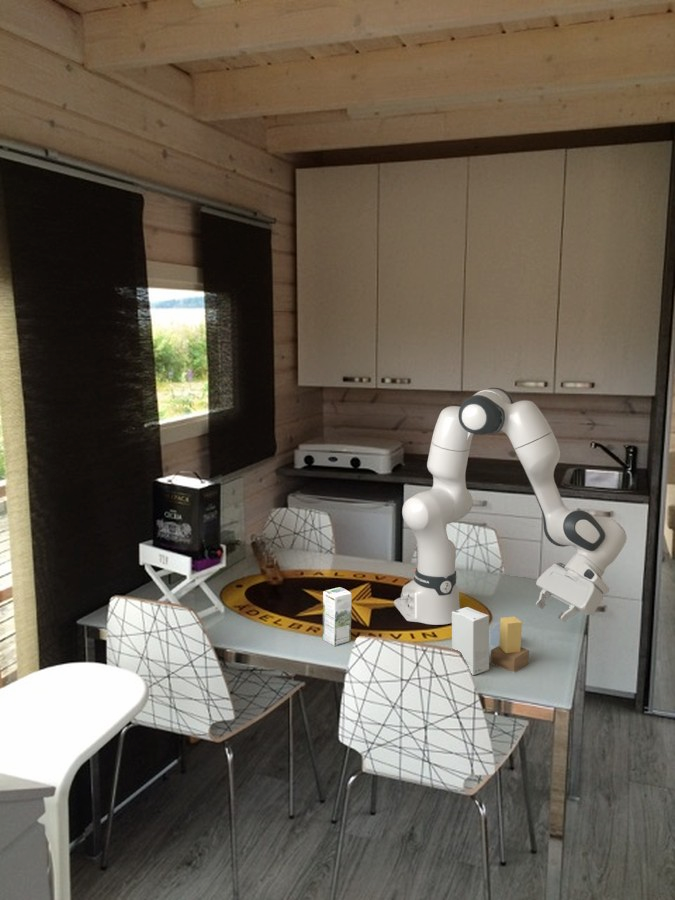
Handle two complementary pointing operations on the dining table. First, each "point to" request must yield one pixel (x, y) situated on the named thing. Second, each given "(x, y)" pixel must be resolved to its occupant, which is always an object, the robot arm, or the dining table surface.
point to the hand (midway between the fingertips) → (549, 613)
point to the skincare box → (471, 638)
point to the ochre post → (510, 634)
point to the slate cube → (495, 636)
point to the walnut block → (510, 658)
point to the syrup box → (337, 616)
